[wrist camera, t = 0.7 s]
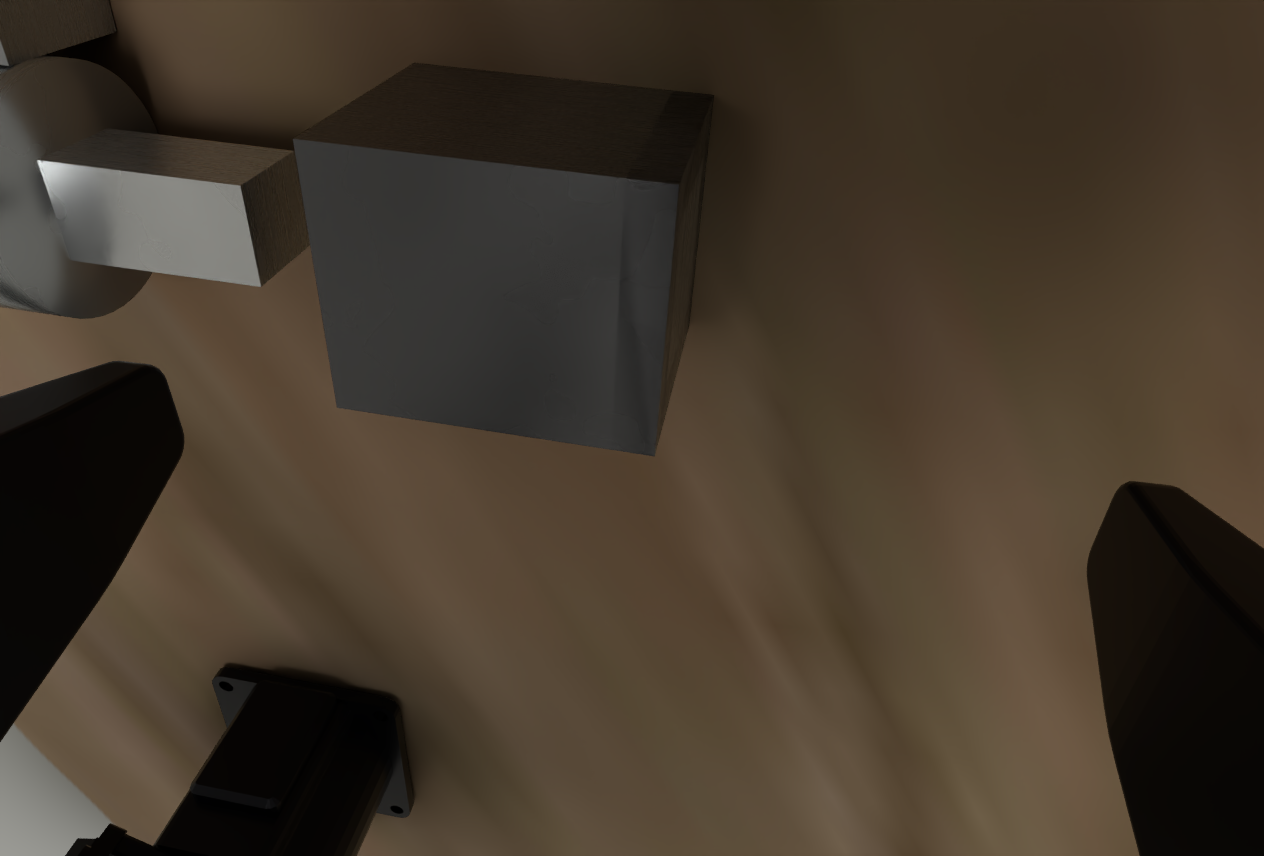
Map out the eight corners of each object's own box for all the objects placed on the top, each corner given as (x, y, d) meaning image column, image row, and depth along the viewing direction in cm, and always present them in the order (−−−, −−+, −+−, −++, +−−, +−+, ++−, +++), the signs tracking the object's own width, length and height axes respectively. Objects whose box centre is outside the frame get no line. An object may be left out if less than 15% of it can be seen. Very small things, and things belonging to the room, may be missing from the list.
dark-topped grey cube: (689, 324, 20) (654, 456, 16) (432, 289, 21) (336, 407, 17) (714, 94, 17) (679, 185, 13) (414, 63, 18) (292, 138, 14)
